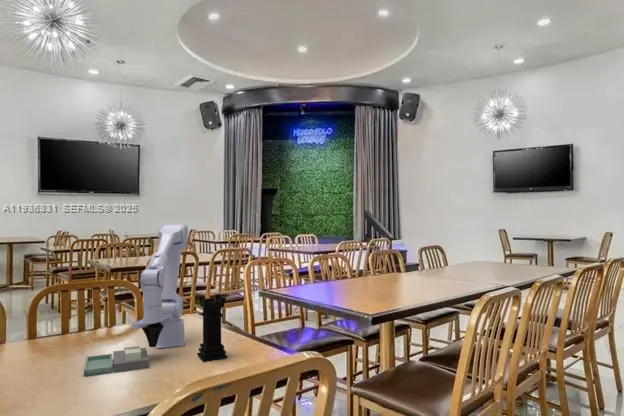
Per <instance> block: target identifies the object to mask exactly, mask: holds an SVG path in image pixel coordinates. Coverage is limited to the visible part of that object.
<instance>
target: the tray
mask: <svg viewBox="0 0 624 416" xmlns="http://www.w3.org/2000/svg"><path fill="white" fill-rule="evenodd" d="M84 361H85V362H84V369H83V377H90V376H91V377H92V376H99V375H105V374H114V365H113V353H107V354H99V355H98V354H97V355H92V356H89V355H88V356H86V357H85V360H84Z"/></svg>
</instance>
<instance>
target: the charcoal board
mask: <svg viewBox="0 0 624 416" xmlns="http://www.w3.org/2000/svg"><path fill="white" fill-rule="evenodd" d="M140 350H141V360H137V361H130V362H125V354H124V349H121V350H116V351H115V350H114V351H113V353H112V362H113V374H114V373H120V372H121V373H122V372H128V371H129V372H130V371H135V370H137V371H138V370H143V369H149V368H150V359H149V355H148V351H147V347H140Z"/></svg>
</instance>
